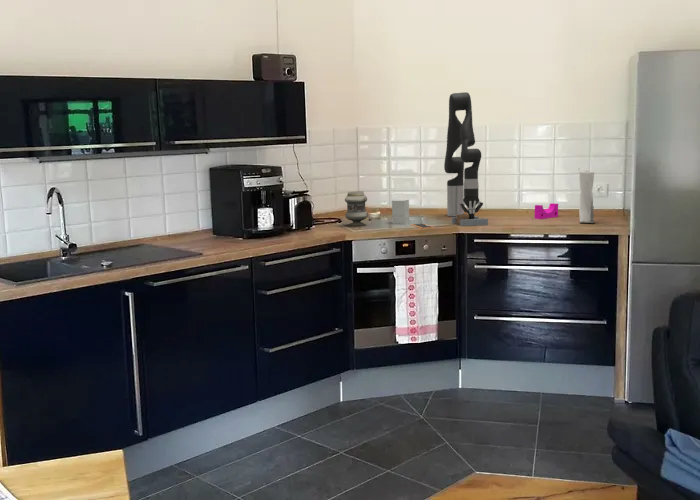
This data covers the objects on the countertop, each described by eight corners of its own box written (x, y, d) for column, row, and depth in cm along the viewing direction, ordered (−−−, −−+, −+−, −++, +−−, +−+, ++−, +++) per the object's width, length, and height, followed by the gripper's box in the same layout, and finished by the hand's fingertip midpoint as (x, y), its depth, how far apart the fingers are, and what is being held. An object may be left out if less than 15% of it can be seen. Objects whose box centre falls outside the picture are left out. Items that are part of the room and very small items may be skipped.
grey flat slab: (451, 223, 423) (451, 217, 423) (476, 221, 426) (476, 216, 425) (462, 226, 407) (462, 220, 407) (487, 224, 410) (487, 219, 410)
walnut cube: (456, 224, 417) (456, 214, 416) (465, 223, 418) (465, 214, 418) (459, 225, 412) (459, 215, 412) (468, 224, 414) (468, 214, 413)
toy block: (549, 216, 447) (549, 203, 446) (558, 217, 442) (558, 203, 441) (531, 218, 438) (531, 204, 437) (540, 219, 433) (540, 205, 432)
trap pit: (411, 224, 419) (411, 224, 419) (423, 224, 421) (423, 223, 421) (421, 228, 402) (421, 227, 402) (434, 227, 403) (434, 227, 403)
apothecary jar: (341, 225, 424) (341, 191, 421) (362, 224, 428) (361, 190, 426) (350, 227, 413) (350, 192, 410) (372, 226, 417) (371, 191, 415)
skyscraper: (576, 222, 411) (577, 167, 407) (578, 221, 418) (579, 167, 414) (593, 222, 408) (594, 167, 404) (595, 221, 415) (596, 167, 411)
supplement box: (409, 222, 429) (409, 199, 427) (404, 224, 423) (404, 200, 421) (397, 222, 432) (396, 199, 431) (391, 223, 426) (391, 200, 424)
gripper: (480, 186, 419) (480, 219, 422) (456, 187, 416) (456, 220, 419) (485, 187, 412) (486, 220, 414) (461, 188, 409) (461, 222, 411)
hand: (471, 220), depth 417 cm, fingers closed
